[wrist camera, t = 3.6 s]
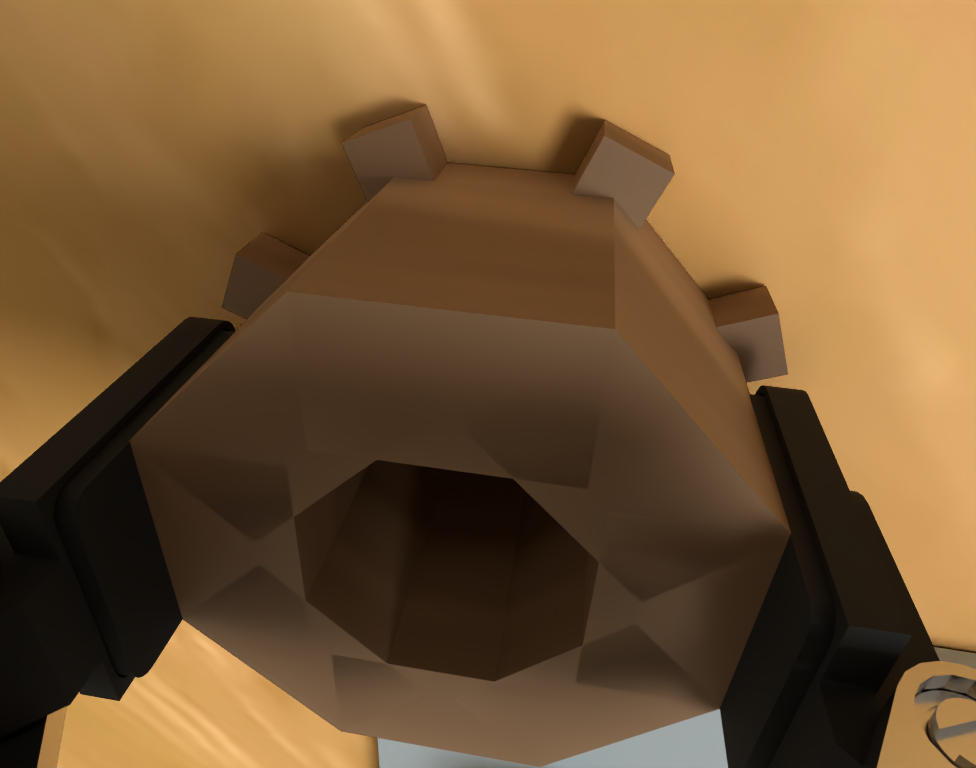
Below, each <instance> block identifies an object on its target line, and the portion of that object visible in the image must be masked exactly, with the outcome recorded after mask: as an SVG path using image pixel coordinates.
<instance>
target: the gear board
mask: <svg viewBox="0 0 976 768" xmlns="http://www.w3.org/2000/svg"><path fill="white" fill-rule="evenodd" d="M934 649H935V651H936V653H937V655H938V657H939V660H940V661H944V662H950V663H956V664H962V665H966V666H968V667H971V668H973V669H976V653H970V652H964V651H957V650H951V649H944V648H938V647H934ZM378 752H379V766H380V768H728V763H727V756H726V749H725V742H724V735H723V728H722V721H721V714H720V709H718V710H715V711H712V712H709V713H706V714H703V715H699V716H696V717H693V718H690V719H687V720H684V721H681V722H678V723H675V724H672V725H669V726H665V727H662V728H659V729H656V730H653V731H650V732H647V733H644V734H641V735H638V736H634V737H631V738H628V739H625V740H622V741H619V742H616V743H613V744H610V745H607V746H604V747H600V748H597V749H594V750H591V751H588V752H585V753H582V754H579V755H576V756H573V757H570V758H566V759H563V760H560V761H557V762H554V763H551V764H548V765H545V766H542V767H537V766H531V765H525V764H520V763H514V762H509V761H503V760H498V759H492V758H487V757H481V756H475V755H470V754H464V753H459V752H453V751H448V750H442V749H436V748H431V747H425V746H420V745H414V744H409V743H403V742H398V741H392V740H386V739H381V738H378Z"/></svg>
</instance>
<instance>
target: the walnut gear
mask: <svg viewBox="0 0 976 768" xmlns="http://www.w3.org/2000/svg"><path fill="white" fill-rule="evenodd" d="M342 145H343V148H344V150H345V152H346V154H347V157H348V159H349V161H350V164H351V166H352V168H353V170H354V173H355V175H356V177H357V179H358V182H359V184H360V186H361V189H362V191H363V193H364V195H365V198H366V200H367V202H366V203H365V204H364V205H363V206H362V207H361V208H360V209H359V210H357V211H356V212H355V213H354V214H353V215H352V216H351V217H350V218H349V219H348V220H347V221H346V222H345V223H344V224H343V225H342V226H341V227H340V228H339V229H338V230H337V231H336V232H335V233H334V234H332V235H331V236H330V237H329V238H328V239H327V240H326V241H325V242H324V243H323V244H322V245H321V246H320V247H319V248H318V249H317V250H316V251H315V252H314V253H313V254H312V255H311V256H309V255H307V254H305V253H303V252H301V251H299V250H297V249H295V248H293V247H290V246H288V245H286V244H284V243H282V242H280V241H278V240H276V239H274V238H272V237H270V236H268V235H266V234H264V233H261V234H260V235H258V236H257V237H256V238H255V239H254V240H252V241H251V242H250V243H249V244H247V245H246V246H245V247H244V248H243V249H241V250H240V251H239V252H238V253H237V254H236V256H235V260H234V263H233V267H232V271H231V274H230V278H229V282H228V286H227V289H226V293H225V297H224V300H223V304H222V308H224V309H226V310H228V311H230V312H232V313H234V314H237V315H239V316H241V317H243V318H245V319H247V320H246V321H245V322H244V323H243V324H242V325H241V326H240V327H239V328H238V329H237V330H236V331H235V332H234V333H233V335H232V336H231V337H230V338H229V339H228V340H227V341H226V342H225V343H224V344H223V345H222V346H221V347H220V348H219V349H218V350H217V351H216V352H215V353H214V354H213V355H212V356H211V357H210V358H209V359H208V360H207V361H206V362H205V363H204V364H203V365H202V366H201V367H200V368H199V370H198V371H197V372H196V373H195V374H194V375H193V376H192V377H191V378H190V379H189V380H188V381H187V382H186V383H185V384H184V385H183V386H182V387H181V388H180V389H179V390H178V391H177V392H176V393H175V394H174V395H173V396H172V397H171V398H170V399H169V400H168V401H167V402H166V404H165V405H164V406H163V407H162V408H161V409H160V410H159V411H158V412H157V413H156V414H155V415H154V416H153V417H152V418H151V419H150V420H149V421H148V422H147V423H146V424H145V425H144V426H143V427H142V428H141V429H140V430H139V431H138V432H137V433H136V434H135V435H134V436H133V437H132V439H131V440H130V441H129V442H130V445H131V448H132V451H133V455H134V458H135V461H136V465H137V468H138V471H139V475H140V478H141V481H142V485H143V488H144V491H145V495H146V498H147V501H148V505H149V508H150V511H151V515H152V518H153V521H154V525H155V528H156V532H157V535H158V538H159V542H160V545H161V548H162V552H163V555H164V558H165V562H166V565H167V568H168V572H169V575H170V578H171V582H172V585H173V588H174V592H175V595H176V598H177V602H178V605H179V608H180V612H181V615H182V618H183V620H184V621H186V622H187V623H189V624H190V625H191V626H193V627H194V628H196V629H197V630H199V631H200V632H201V633H203V634H204V635H206V636H207V637H208V638H210V639H211V640H213V641H214V642H215V643H217V644H218V645H220V646H221V647H223V648H224V649H225V650H227V651H228V652H230V653H231V654H232V655H234V656H235V657H237V658H238V659H239V660H241V661H242V662H244V663H245V664H247V665H248V666H249V667H251V668H252V669H254V670H255V671H256V672H258V673H259V674H261V675H262V676H263V677H265V678H266V679H268V680H269V681H271V682H272V683H273V684H275V685H276V686H278V687H279V688H280V689H282V690H283V691H285V692H286V693H287V694H289V695H290V696H292V697H293V698H295V699H296V700H297V701H299V702H300V703H302V704H303V705H304V706H306V707H307V708H309V709H310V710H311V711H313V712H314V713H316V714H317V715H319V716H320V717H321V718H323V719H324V720H326V721H327V722H328V723H330V724H331V725H333V726H334V727H336V728H337V729H338V730H340V731H342V732H347V733H353V734H359V735H364V736H370V737H375V738H381V739H386V740H392V741H398V742H403V743H409V744H414V745H420V746H425V747H431V748H436V749H442V750H448V751H453V752H459V753H464V754H470V755H475V756H481V757H487V758H492V759H498V760H503V761H509V762H514V763H520V764H525V765H531V766H537V767H542V766H545V765H548V764H551V763H554V762H557V761H560V760H563V759H566V758H570V757H573V756H576V755H579V754H582V753H585V752H588V751H591V750H594V749H597V748H600V747H604V746H607V745H610V744H613V743H616V742H619V741H622V740H625V739H628V738H631V737H634V736H638V735H641V734H644V733H647V732H650V731H653V730H656V729H659V728H662V727H665V726H669V725H672V724H675V723H678V722H681V721H684V720H687V719H690V718H693V717H696V716H699V715H703V714H706V713H709V712H712V711H715V710H718V709H720V707H721V704H722V702H723V699H724V697H725V694H726V692H727V690H728V687H729V685H730V682H731V680H732V677H733V675H734V672H735V670H736V667H737V665H738V662H739V660H740V658H741V655H742V653H743V650H744V648H745V645H746V643H747V640H748V638H749V635H750V633H751V631H752V628H753V626H754V623H755V621H756V618H757V616H758V613H759V611H760V608H761V606H762V603H763V601H764V599H765V596H766V594H767V591H768V589H769V586H770V584H771V581H772V579H773V576H774V574H775V572H776V569H777V567H778V564H779V562H780V559H781V557H782V554H783V552H784V549H785V547H786V544H787V542H788V540H789V537H790V535H792V534H791V531H790V527H789V524H788V521H787V518H786V514H785V511H784V508H783V504H782V501H781V498H780V495H779V491H778V488H777V485H776V481H775V478H774V475H773V472H772V468H771V465H770V462H769V459H768V455H767V452H766V449H765V445H764V442H763V439H762V436H761V432H760V429H759V426H758V422H757V419H756V416H755V413H754V409H753V406H752V403H751V399H750V393H749V390H748V387H747V382H752V381H757V380H762V379H767V378H772V377H777V376H782V375H787V374H788V372H787V365H786V359H785V352H784V346H783V339H782V333H781V327H780V320H779V314H778V311H777V309H776V307H775V305H774V302H773V300H772V298H771V296H770V294H769V291H768V289H767V287H766V286H764V287H760V288H755V289H751V290H747V291H743V292H738V293H734V294H730V295H726V296H722V297H717V298H713V299H708V298H707V297H706V295H705V294H704V293H703V292H702V290H701V289H700V288H699V287H698V285H697V284H696V283H695V281H694V280H693V279H692V278H691V276H690V275H689V274H688V272H687V271H686V270H685V269H684V267H683V266H682V265H681V264H680V262H679V261H678V260H677V258H676V257H675V256H674V255H673V253H672V252H671V251H670V249H669V248H668V247H667V246H666V244H665V243H664V242H663V241H662V239H661V238H660V237H659V235H658V234H657V233H656V232H655V230H654V229H653V228H652V226H651V225H650V224H649V223H648V221H647V220H646V218H647V216H648V215H649V213H650V212H651V210H652V209H653V207H654V205H655V204H656V202H657V201H658V199H659V198H660V196H661V194H662V193H663V191H664V190H665V188H666V187H667V185H668V184H669V182H670V180H671V179H672V177H673V176H674V174H675V173H674V170H673V166H672V162H671V159H670V155H668V154H666V153H664V152H662V151H661V150H659V149H657V148H655V147H653V146H652V145H650V144H648V143H646V142H644V141H642V140H641V139H639V138H637V137H635V136H633V135H632V134H630V133H628V132H626V131H624V130H622V129H621V128H619V127H617V126H615V125H613V124H611V123H610V122H608V121H606V120H605V121H604V123H603V125H602V127H601V128H600V130H599V132H598V134H597V136H596V137H595V139H594V141H593V143H592V145H591V146H590V148H589V150H588V152H587V154H586V155H585V157H584V159H583V161H582V163H581V165H580V166H579V168H578V170H577V172H576V174H575V175H574V174H563V173H553V172H542V171H531V170H520V169H510V168H499V167H488V166H477V165H467V164H456V163H448V162H447V159H446V157H445V154H444V151H443V148H442V146H441V143H440V140H439V138H438V135H437V132H436V130H435V127H434V124H433V121H432V119H431V116H430V113H429V111H428V108H427V105H425V106H422V107H419V108H416V109H414V110H411V111H408V112H405V113H403V114H400V115H397V116H394V117H392V118H389V119H386V120H383V121H381V122H378V123H375V124H372V125H370V126H367V127H364V128H362V129H361V130H359V131H358V132H357V133H355V134H354V135H352V136H351V137H350V138H348V139H347V140H346V141H344V142H343V143H342Z"/></svg>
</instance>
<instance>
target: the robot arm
mask: <svg viewBox="0 0 976 768" xmlns="http://www.w3.org/2000/svg"><path fill="white" fill-rule="evenodd" d="M234 332H235V328H234V327H233V325H232V324H231V323H230V322H228V321H223V320H214V319H206V318H198V317H189V318H187V319H185V320H184V321H183V322H182V323H181V324H179V325H178V326H177V327H176V328H175V329H174V330H173V331H172V332H170V333H169V334H168V335H167V336H166V337H165V338H164V339H162V340H161V341H160V342H159V343H158V344H157V345H156V346H154V347H153V348H152V349H151V350H150V351H149V352H148V353H147V354H145V355H144V356H143V357H142V358H141V359H140V360H139V361H137V362H136V363H135V364H134V365H133V366H132V367H131V368H130V369H128V370H127V371H126V372H125V373H124V374H123V375H122V376H120V377H119V378H118V379H117V380H116V381H115V382H114V383H112V384H111V385H110V386H109V387H108V388H107V389H106V390H105V391H103V392H102V393H101V394H100V395H99V396H98V397H97V398H95V399H94V400H93V401H92V402H91V403H90V404H89V405H88V406H86V407H85V408H84V409H83V410H82V411H81V412H80V413H78V414H77V415H76V416H75V417H74V418H73V419H72V420H70V421H69V422H68V423H67V424H66V425H65V426H64V427H63V428H61V429H60V430H59V431H58V432H57V433H56V434H55V435H53V436H52V437H51V438H50V439H49V440H48V441H47V442H46V443H44V444H43V445H42V446H41V447H40V448H39V449H38V450H36V451H35V452H34V453H33V454H32V455H31V456H30V457H28V458H27V459H26V460H25V461H24V462H23V463H22V464H21V465H19V466H18V467H17V468H16V469H15V470H14V471H13V472H11V473H10V474H9V475H8V476H7V477H6V478H5V479H4V480H2V481H1V482H0V768H57V763H58V757H59V751H60V745H61V739H62V734H63V728H64V722H65V716H66V710H67V706H68V705H70V704H71V702H72V701H73V700H74V698H75V697H76V695H77V694H78V693H79V692H80V694H83V695H89V696H94V697H100V698H105V699H111V700H116V701H120V699H121V698H122V696H123V695H124V693H125V692H126V690H127V688H128V687H129V685H130V684H131V682H132V681H133V679H134V678H135V677H138V678H139V677H142V676H144V675H145V674H146V673H148V672H149V670H150V669H151V668H152V666H153V665H154V663H155V662H156V660H157V659H158V657H159V655H160V654H161V652H162V651H163V649H164V648H165V646H166V644H167V643H168V641H169V640H170V638H171V636H172V635H173V633H174V632H175V630H176V629H177V627H178V625H179V624H180V622H181V621H182V619H183V618H182V615H181V612H180V608H179V605H178V602H177V598H176V595H175V592H174V588H173V585H172V582H171V578H170V575H169V572H168V568H167V565H166V562H165V558H164V555H163V552H162V548H161V545H160V542H159V538H158V535H157V532H156V528H155V525H154V521H153V518H152V515H151V511H150V508H149V505H148V501H147V498H146V495H145V491H144V488H143V485H142V481H141V478H140V475H139V471H138V468H137V465H136V461H135V458H134V455H133V451H132V448H131V445H130V442H129V441H130V440H131V439H132V437H133V436H134V435H135V434H136V433H137V432H138V431H139V430H140V429H141V428H142V427H143V426H144V425H145V424H146V423H147V422H148V421H149V420H150V419H151V418H152V417H153V416H154V415H155V414H156V413H157V412H158V411H159V410H160V409H161V408H162V407H163V406H164V405H165V404H166V402H167V401H168V400H169V399H170V398H171V397H172V396H173V395H174V394H175V393H176V392H177V391H178V390H179V389H180V388H181V387H182V386H183V385H184V384H185V383H186V382H187V381H188V380H189V379H190V378H191V377H192V376H193V375H194V374H195V373H196V372H197V371H198V370H199V368H200V367H201V366H202V365H203V364H204V363H205V362H206V361H207V360H208V359H209V358H210V357H211V356H212V355H213V354H214V353H215V352H216V351H217V350H218V349H219V348H220V347H221V346H222V345H223V344H224V343H225V342H226V341H227V340H228V339H229V338H230V337H231V336H232V335H233V333H234ZM750 399H751V403H752V406H753V409H754V413H755V416H756V419H757V422H758V426H759V429H760V432H761V436H762V439H763V442H764V445H765V449H766V452H767V455H768V459H769V462H770V465H771V468H772V472H773V475H774V478H775V481H776V485H777V488H778V491H779V495H780V498H781V501H782V504H783V508H784V511H785V514H786V518H787V521H788V524H789V527H790V531H791V534H792V535H790V537H789V540H788V542H787V544H786V547H785V549H784V552H783V554H782V557H781V559H780V562H779V564H778V567H777V569H776V572H775V574H774V576H773V579H772V581H771V584H770V586H769V589H768V591H767V594H766V596H765V599H764V601H763V603H762V606H761V608H760V611H759V613H758V616H757V618H756V621H755V623H754V626H753V628H752V631H751V633H750V635H749V638H748V640H747V643H746V645H745V648H744V650H743V653H742V655H741V658H740V660H739V662H738V665H737V667H736V670H735V672H734V675H733V677H732V680H731V682H730V685H729V687H728V690H727V692H726V694H725V697H724V699H723V702H722V704H721V707H720V714H721V721H722V728H723V735H724V742H725V749H726V756H727V763H728V768H976V669H973V668H971V667H968V666H966V665H962V664H956V663H950V662H944V661H940V660H939V657H938V655H937V653H936V651H935V649H934V646H933V644H932V642H931V640H930V638H929V636H928V633H927V631H926V629H925V627H924V625H923V622H922V620H921V618H920V616H919V614H918V611H917V609H916V607H915V605H914V603H913V601H912V598H911V596H910V594H909V592H908V590H907V587H906V585H905V583H904V581H903V579H902V576H901V574H900V572H899V570H898V568H897V566H896V563H895V561H894V559H893V557H892V555H891V552H890V550H889V548H888V546H887V544H886V541H885V539H884V537H883V535H882V533H881V531H880V528H879V526H878V524H877V522H876V520H875V517H874V515H873V513H872V511H871V509H870V506H869V504H868V503H867V501H866V500H865V498H864V497H863V495H861V494H859V493H858V492H855V491H850V490H849V488H848V486H847V483H846V481H845V479H844V477H843V474H842V472H841V470H840V467H839V465H838V463H837V460H836V458H835V456H834V454H833V451H832V449H831V447H830V444H829V442H828V440H827V437H826V435H825V433H824V430H823V428H822V426H821V424H820V421H819V419H818V417H817V414H816V412H815V410H814V407H813V405H812V403H811V401H810V398H809V396H808V394H807V393H806V391H803V390H796V389H788V388H780V387H772V386H763V385H762V386H761V387H759V389H758V390H757V392H756V394H755V395H752V394H750Z"/></svg>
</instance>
